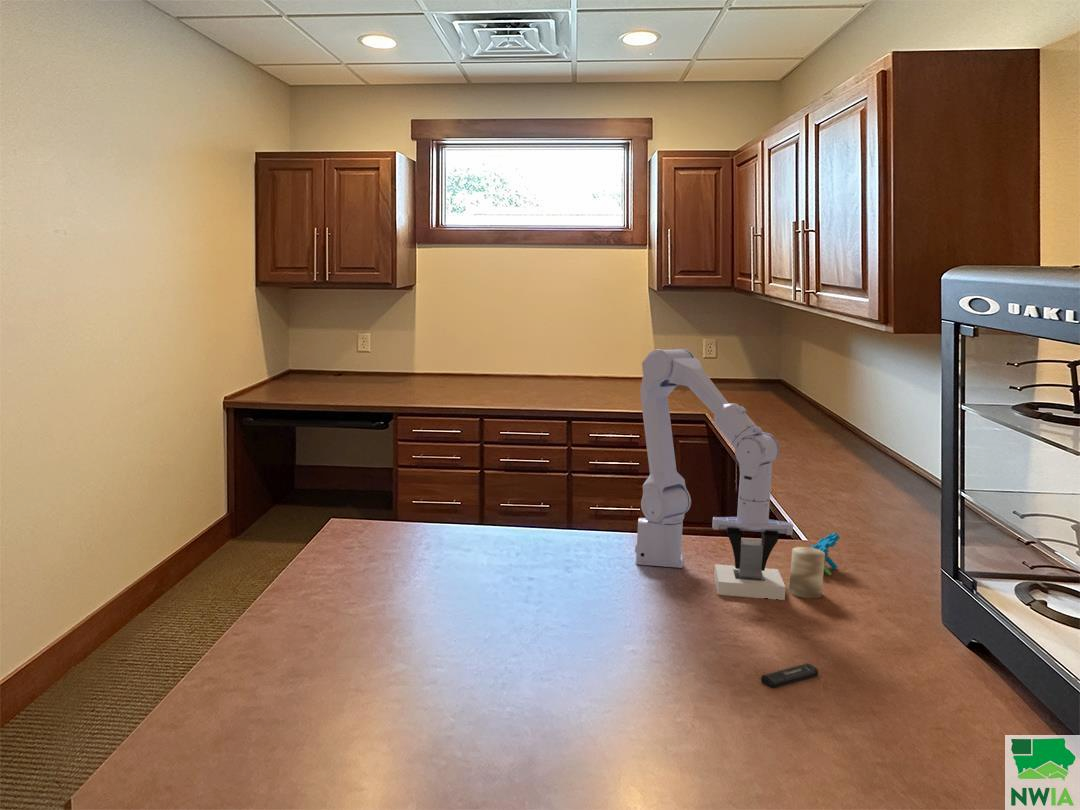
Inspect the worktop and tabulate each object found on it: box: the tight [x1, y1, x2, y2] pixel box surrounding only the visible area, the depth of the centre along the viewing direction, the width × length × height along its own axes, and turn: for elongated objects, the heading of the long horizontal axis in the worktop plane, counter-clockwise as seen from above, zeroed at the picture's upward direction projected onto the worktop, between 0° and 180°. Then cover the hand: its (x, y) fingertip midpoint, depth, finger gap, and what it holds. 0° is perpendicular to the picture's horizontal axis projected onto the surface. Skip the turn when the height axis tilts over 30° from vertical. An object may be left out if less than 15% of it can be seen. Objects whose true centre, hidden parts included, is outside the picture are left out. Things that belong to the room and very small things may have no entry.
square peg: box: [737, 537, 763, 581], centre depth 149 cm, size 4×4×8 cm
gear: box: [810, 531, 840, 576], centre depth 161 cm, size 11×6×10 cm
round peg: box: [788, 546, 825, 599], centre depth 147 cm, size 6×6×8 cm
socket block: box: [713, 563, 786, 601], centre depth 149 cm, size 12×10×2 cm
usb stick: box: [760, 663, 819, 689], centre depth 113 cm, size 10×3×2 cm, turn 118°
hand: (749, 568), depth 148 cm, fingers closed on square peg, 4 cm apart
